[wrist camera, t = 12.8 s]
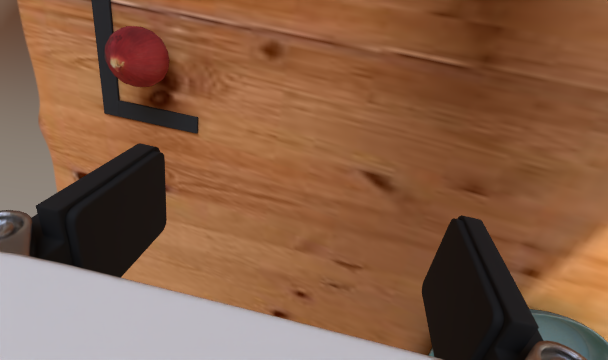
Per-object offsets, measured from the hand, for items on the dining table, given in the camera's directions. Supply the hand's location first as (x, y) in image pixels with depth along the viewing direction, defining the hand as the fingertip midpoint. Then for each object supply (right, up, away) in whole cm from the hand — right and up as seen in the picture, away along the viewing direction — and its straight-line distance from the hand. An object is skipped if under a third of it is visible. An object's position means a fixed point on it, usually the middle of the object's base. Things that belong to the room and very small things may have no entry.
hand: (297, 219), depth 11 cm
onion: (-16, +16, +27) cm, 35 cm away
